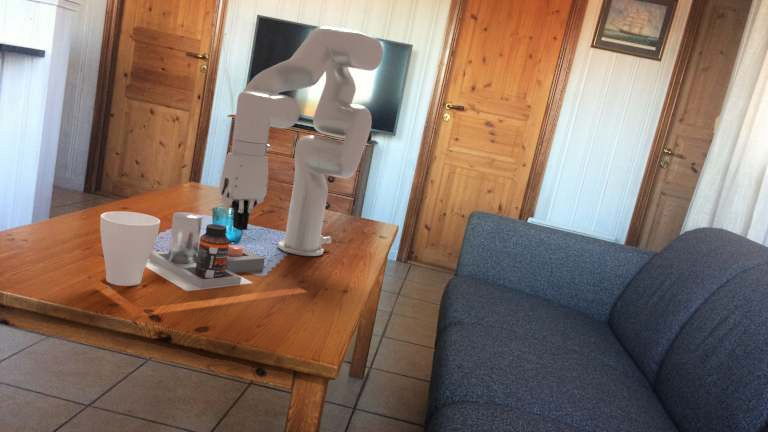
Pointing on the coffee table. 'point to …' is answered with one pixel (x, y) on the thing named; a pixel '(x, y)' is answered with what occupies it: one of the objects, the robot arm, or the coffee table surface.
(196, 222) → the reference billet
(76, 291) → the coffee table surface
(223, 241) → the supplement bottle
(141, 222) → the cup
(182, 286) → the tray
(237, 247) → the button
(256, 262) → the grey square block
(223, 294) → the coffee table surface
